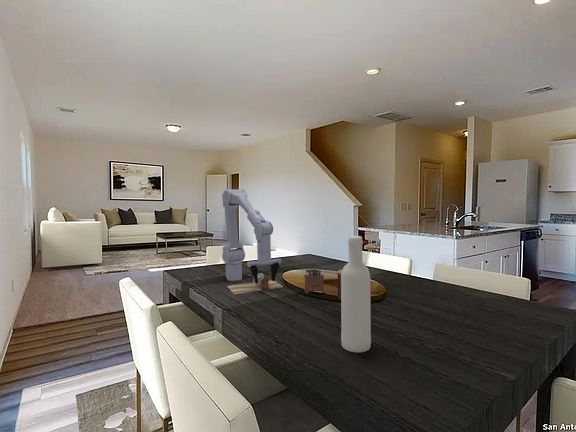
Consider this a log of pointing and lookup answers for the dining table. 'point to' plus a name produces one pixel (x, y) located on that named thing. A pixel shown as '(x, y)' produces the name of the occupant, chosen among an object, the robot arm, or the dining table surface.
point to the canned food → (339, 283)
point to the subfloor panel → (252, 287)
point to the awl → (264, 283)
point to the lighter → (313, 280)
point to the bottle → (355, 300)
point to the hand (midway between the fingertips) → (264, 281)
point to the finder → (259, 279)
